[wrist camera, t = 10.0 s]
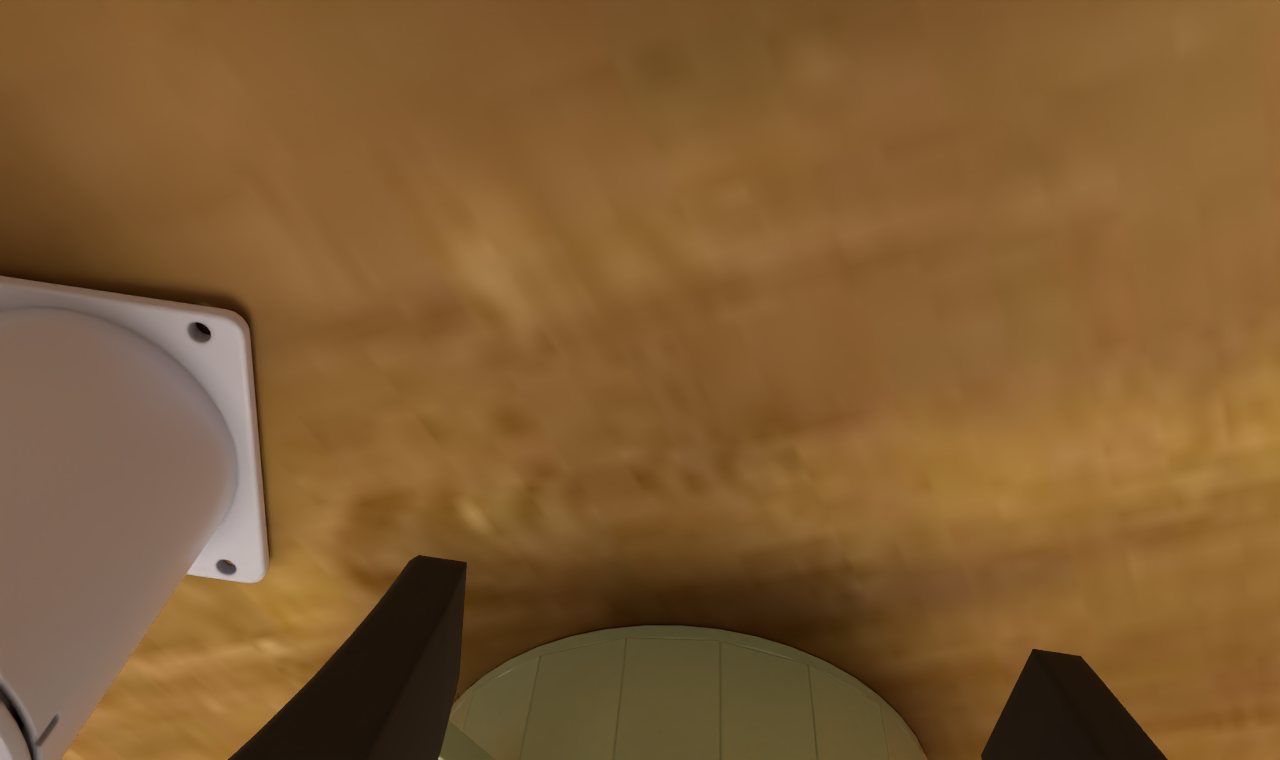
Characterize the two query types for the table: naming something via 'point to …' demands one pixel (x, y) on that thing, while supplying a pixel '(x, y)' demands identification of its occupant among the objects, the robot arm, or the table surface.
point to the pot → (673, 703)
